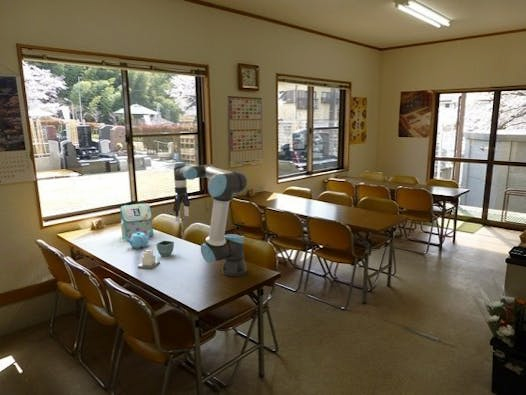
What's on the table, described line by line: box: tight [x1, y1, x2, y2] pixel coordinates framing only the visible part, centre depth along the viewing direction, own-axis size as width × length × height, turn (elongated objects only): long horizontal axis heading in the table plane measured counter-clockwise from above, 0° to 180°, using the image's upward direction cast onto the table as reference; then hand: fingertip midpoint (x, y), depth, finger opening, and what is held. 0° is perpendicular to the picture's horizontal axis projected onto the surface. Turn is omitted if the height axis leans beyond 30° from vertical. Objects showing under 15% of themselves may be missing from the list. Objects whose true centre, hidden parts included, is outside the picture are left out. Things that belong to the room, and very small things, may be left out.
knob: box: [141, 249, 156, 265], centre depth 247 cm, size 6×6×8 cm
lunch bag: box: [119, 203, 154, 240], centre depth 306 cm, size 23×16×27 cm
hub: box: [137, 257, 161, 270], centre depth 247 cm, size 10×10×6 cm
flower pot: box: [156, 240, 175, 257], centre depth 266 cm, size 9×9×9 cm
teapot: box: [124, 230, 151, 250], centre depth 284 cm, size 15×14×11 cm
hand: (182, 218), depth 251 cm, fingers open, 13 cm apart
